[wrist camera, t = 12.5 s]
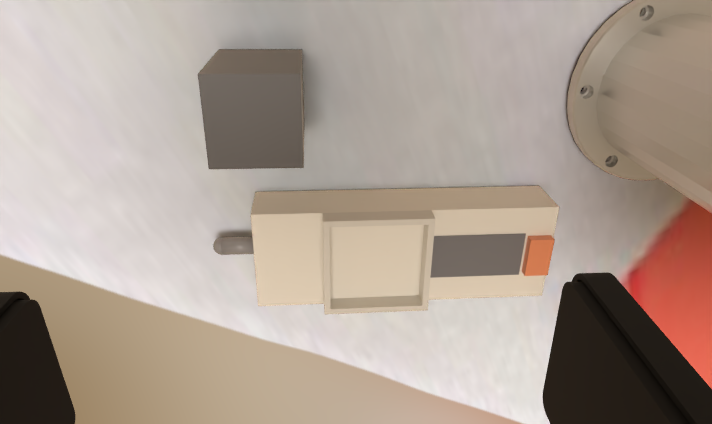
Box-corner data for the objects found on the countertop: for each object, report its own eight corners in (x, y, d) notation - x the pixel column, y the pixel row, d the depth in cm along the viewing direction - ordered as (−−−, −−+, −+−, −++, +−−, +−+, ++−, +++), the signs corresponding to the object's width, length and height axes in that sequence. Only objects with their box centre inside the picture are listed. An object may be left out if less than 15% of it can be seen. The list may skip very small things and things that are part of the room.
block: (302, 49, 33) (300, 73, 27) (304, 129, 35) (303, 168, 29) (219, 49, 33) (198, 74, 26) (226, 129, 35) (209, 170, 29)
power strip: (538, 185, 38) (567, 215, 34) (524, 268, 41) (548, 305, 37) (210, 192, 37) (198, 224, 32) (221, 279, 40) (210, 318, 35)
